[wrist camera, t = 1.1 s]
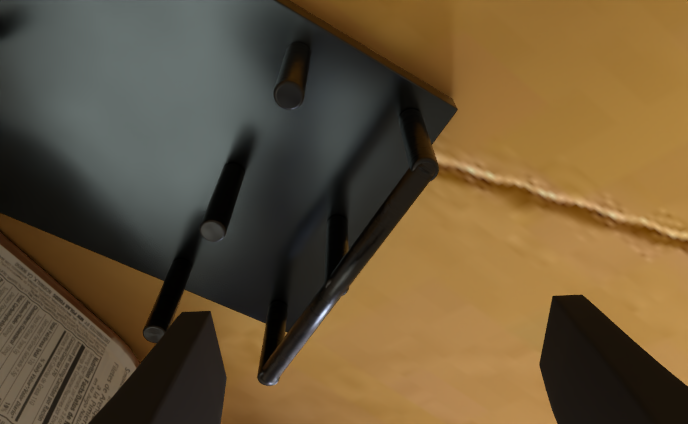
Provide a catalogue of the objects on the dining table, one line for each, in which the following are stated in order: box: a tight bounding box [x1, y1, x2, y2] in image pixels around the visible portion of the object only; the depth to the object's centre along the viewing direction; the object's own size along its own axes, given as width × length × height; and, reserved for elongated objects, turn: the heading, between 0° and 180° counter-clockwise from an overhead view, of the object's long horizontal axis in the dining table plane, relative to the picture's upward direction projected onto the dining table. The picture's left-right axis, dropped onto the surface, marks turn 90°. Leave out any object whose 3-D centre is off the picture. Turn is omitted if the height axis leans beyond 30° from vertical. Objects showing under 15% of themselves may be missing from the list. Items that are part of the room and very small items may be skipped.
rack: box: [0, 0, 457, 386], centre depth 17 cm, size 12×20×5 cm, turn 59°
